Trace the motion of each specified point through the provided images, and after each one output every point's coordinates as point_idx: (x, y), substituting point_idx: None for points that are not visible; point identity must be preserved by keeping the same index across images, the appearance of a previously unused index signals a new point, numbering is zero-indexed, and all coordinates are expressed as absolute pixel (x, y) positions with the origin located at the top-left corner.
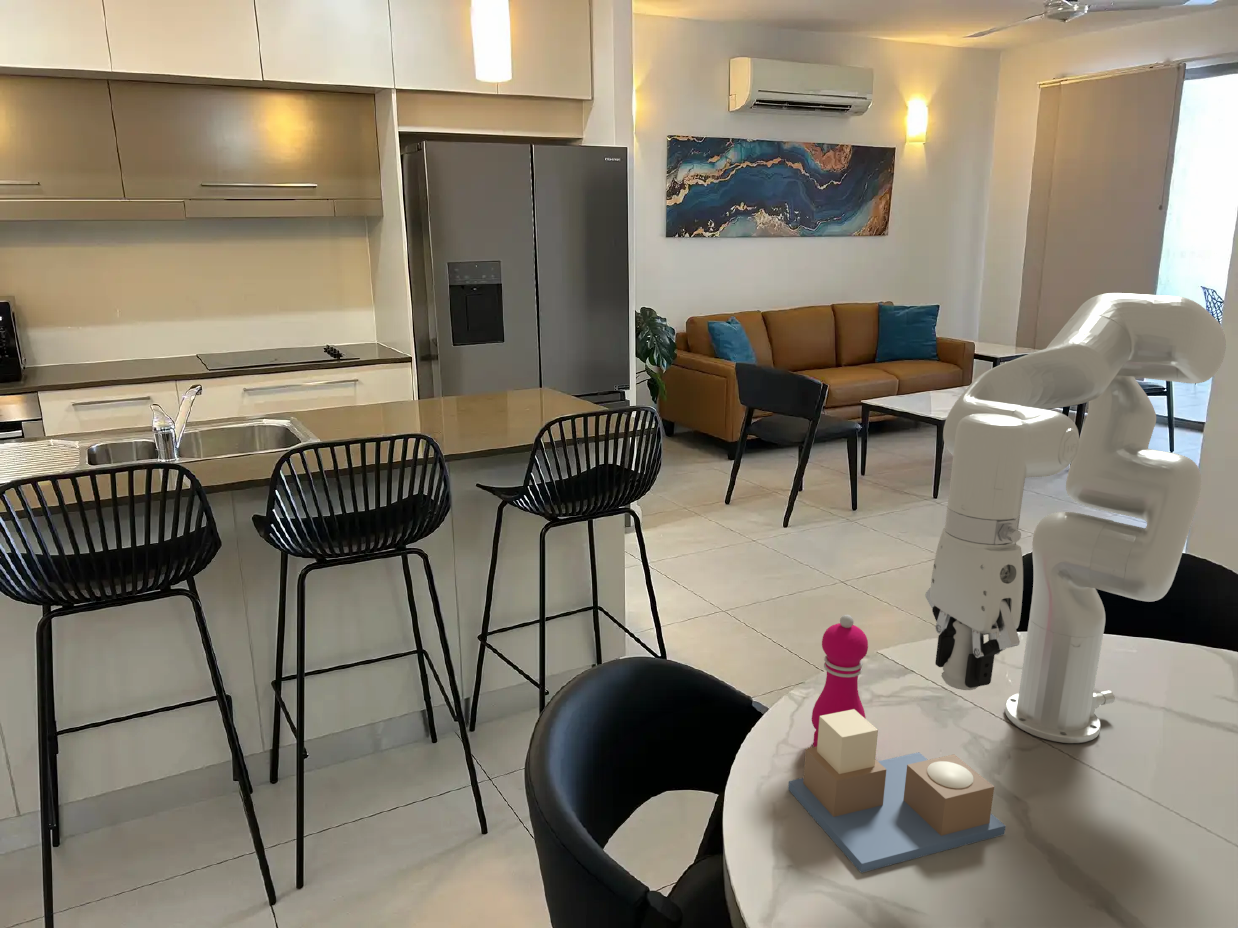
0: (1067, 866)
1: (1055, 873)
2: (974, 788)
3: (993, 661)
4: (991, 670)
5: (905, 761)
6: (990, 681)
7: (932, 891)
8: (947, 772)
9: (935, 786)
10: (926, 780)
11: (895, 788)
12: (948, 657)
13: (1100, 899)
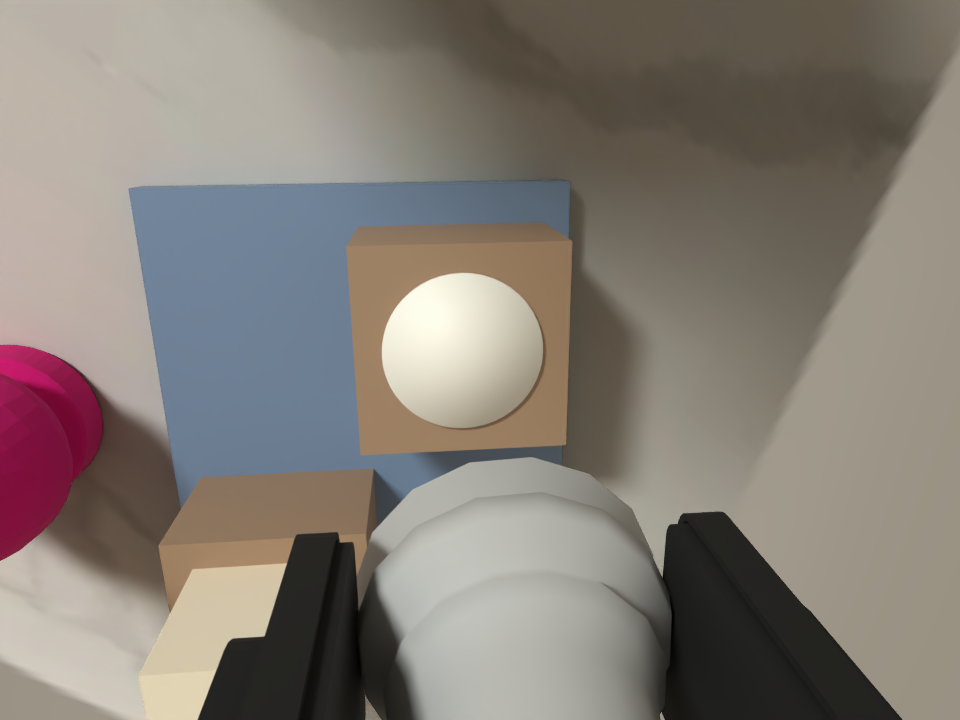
0: (734, 102)
1: (739, 160)
2: (554, 317)
3: (831, 641)
4: (852, 662)
5: (176, 272)
6: (724, 516)
7: (660, 495)
8: (453, 357)
9: (499, 436)
10: (461, 445)
11: (310, 391)
12: (356, 716)
13: (856, 120)
